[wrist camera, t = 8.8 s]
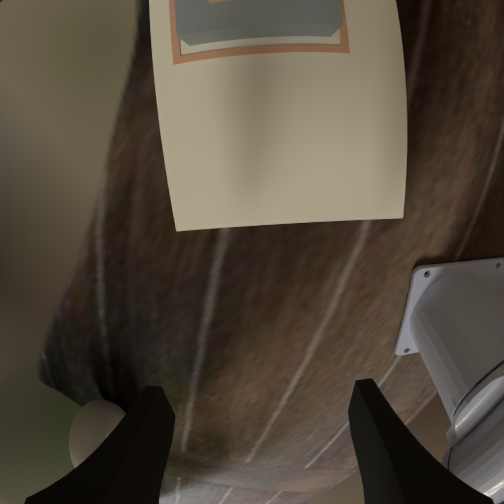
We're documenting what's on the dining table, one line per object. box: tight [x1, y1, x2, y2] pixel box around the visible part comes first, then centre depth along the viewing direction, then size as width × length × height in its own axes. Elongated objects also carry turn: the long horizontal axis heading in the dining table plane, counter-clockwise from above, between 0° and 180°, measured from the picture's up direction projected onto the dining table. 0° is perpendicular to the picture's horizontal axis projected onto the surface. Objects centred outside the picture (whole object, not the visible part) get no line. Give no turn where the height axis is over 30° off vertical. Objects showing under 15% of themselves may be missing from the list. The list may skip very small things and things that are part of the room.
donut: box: [69, 400, 126, 468], centre depth 22 cm, size 10×4×10 cm, turn 6°
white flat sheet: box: [149, 0, 407, 231], centre depth 13 cm, size 13×18×1 cm
